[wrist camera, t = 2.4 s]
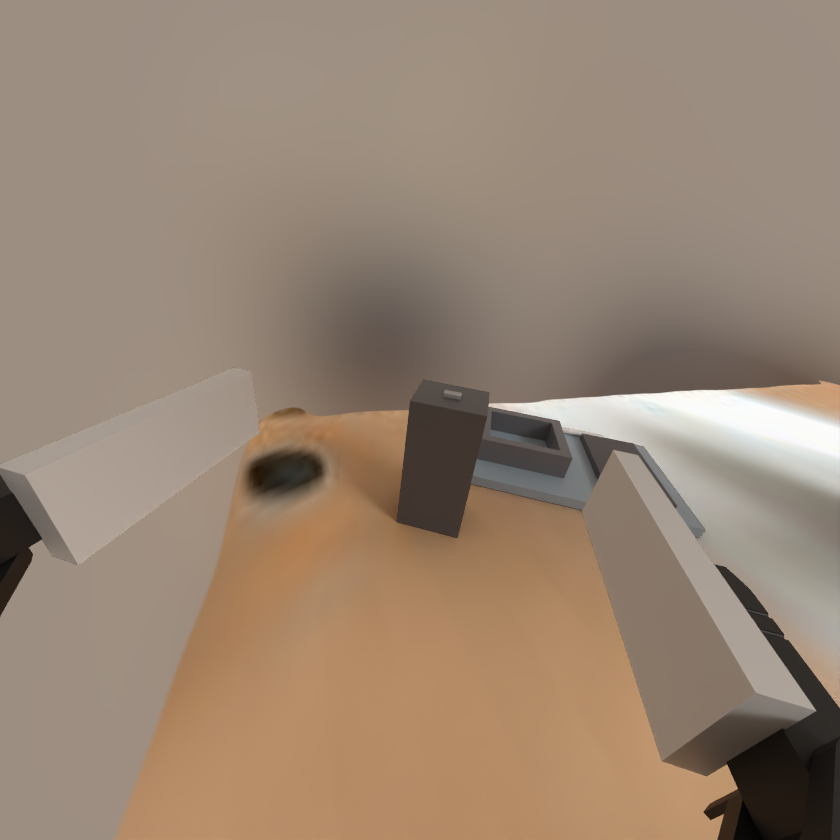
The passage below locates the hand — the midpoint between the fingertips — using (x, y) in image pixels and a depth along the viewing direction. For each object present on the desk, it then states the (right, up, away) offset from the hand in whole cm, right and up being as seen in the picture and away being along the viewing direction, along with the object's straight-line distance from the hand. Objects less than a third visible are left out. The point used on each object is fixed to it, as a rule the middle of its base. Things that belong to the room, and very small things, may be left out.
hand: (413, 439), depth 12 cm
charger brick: (+1, -7, +16) cm, 17 cm away
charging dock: (+16, -4, +24) cm, 29 cm away
